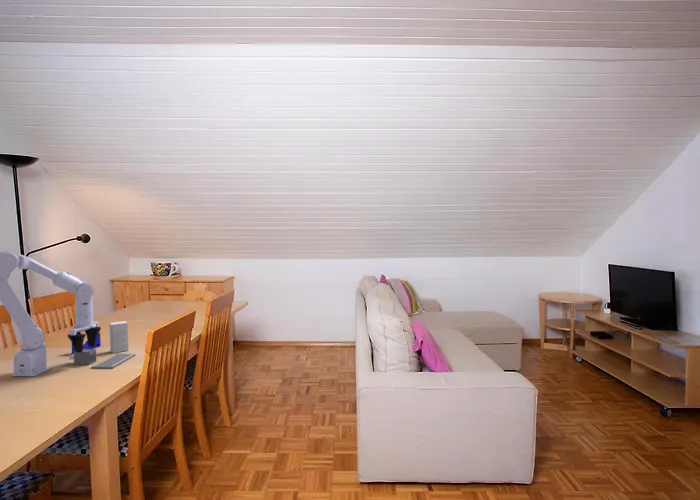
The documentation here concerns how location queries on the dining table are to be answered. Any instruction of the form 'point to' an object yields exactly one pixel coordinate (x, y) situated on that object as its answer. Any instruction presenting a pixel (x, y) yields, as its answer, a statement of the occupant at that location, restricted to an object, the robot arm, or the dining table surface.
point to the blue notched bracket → (85, 346)
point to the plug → (84, 357)
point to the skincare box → (119, 336)
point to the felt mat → (113, 361)
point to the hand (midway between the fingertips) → (85, 349)
